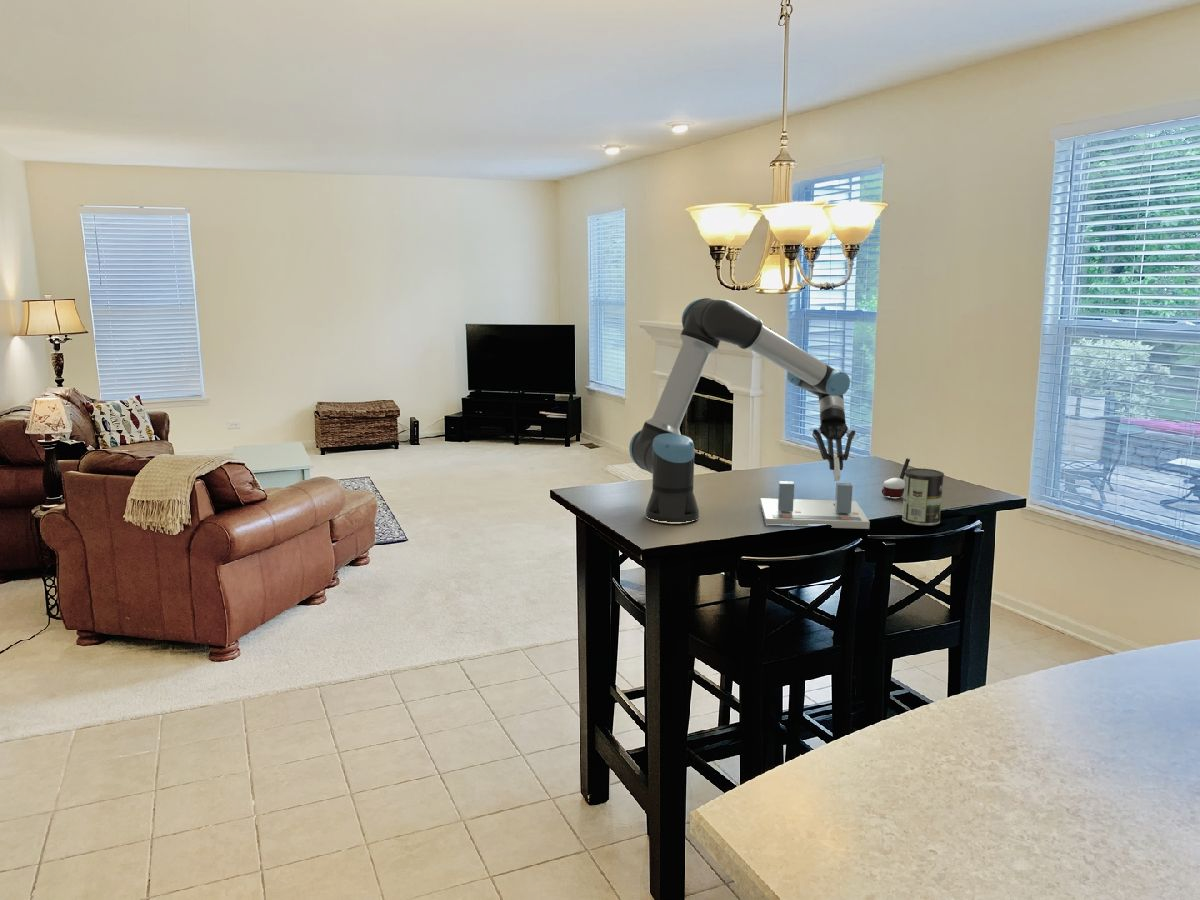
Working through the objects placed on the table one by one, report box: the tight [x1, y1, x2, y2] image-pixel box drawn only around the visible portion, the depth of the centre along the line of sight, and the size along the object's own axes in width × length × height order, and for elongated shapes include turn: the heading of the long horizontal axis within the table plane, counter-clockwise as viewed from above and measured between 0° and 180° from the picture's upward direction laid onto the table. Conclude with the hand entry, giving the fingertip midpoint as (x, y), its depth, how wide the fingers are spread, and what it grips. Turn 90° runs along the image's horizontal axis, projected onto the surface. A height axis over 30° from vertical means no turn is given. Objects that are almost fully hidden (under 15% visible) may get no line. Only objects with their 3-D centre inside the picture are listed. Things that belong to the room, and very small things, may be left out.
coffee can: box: [901, 467, 945, 526], centre depth 245 cm, size 10×10×14 cm
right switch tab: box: [834, 482, 853, 513], centre depth 245 cm, size 4×3×8 cm
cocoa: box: [881, 457, 911, 498], centre depth 269 cm, size 10×6×12 cm, turn 90°
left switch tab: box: [777, 480, 795, 511], centre depth 247 cm, size 4×3×8 cm
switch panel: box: [759, 497, 871, 530], centre depth 250 cm, size 28×22×2 cm
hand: (837, 478), depth 257 cm, fingers closed
